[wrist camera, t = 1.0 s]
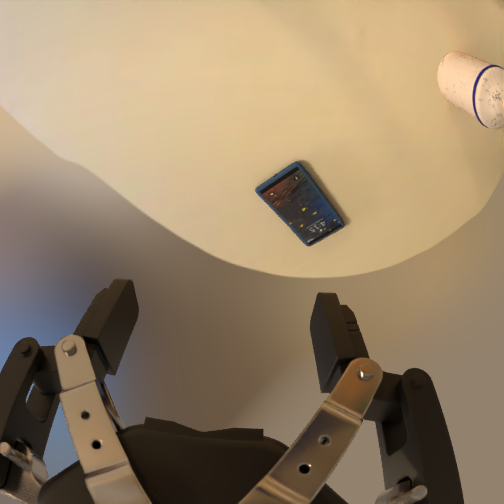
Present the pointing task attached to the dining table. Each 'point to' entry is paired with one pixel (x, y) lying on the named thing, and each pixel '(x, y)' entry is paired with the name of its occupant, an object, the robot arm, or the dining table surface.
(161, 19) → the dining table surface
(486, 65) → the teacup with lid
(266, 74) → the dining table surface
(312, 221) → the smartphone
